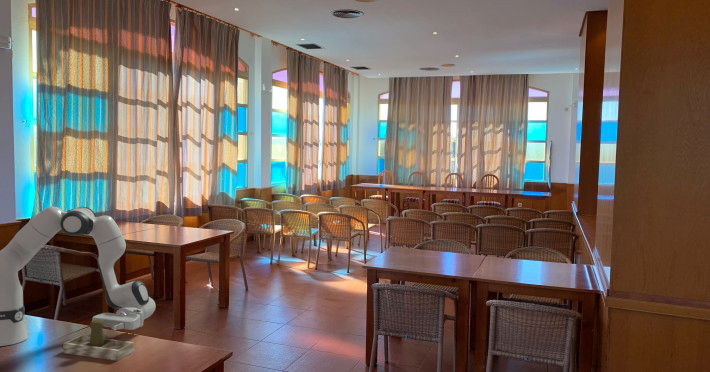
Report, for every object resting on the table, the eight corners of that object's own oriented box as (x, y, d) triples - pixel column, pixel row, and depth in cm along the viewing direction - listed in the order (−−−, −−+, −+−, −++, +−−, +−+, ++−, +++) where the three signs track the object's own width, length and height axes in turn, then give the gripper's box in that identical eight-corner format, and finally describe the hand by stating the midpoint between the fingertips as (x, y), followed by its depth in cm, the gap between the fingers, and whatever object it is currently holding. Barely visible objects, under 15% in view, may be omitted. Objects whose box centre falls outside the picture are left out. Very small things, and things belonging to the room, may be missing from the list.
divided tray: (63, 352, 204) (63, 343, 203) (81, 344, 212) (80, 335, 212) (118, 360, 197) (118, 350, 197) (134, 351, 206) (134, 342, 206)
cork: (99, 350, 201) (98, 323, 201) (85, 349, 202) (85, 322, 202) (108, 344, 207) (108, 318, 207) (95, 343, 208) (95, 317, 207)
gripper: (106, 307, 222) (81, 317, 209) (146, 311, 217) (123, 322, 203) (106, 321, 222) (81, 332, 209) (146, 326, 217) (124, 337, 204)
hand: (102, 327), depth 206 cm, fingers open, 8 cm apart
